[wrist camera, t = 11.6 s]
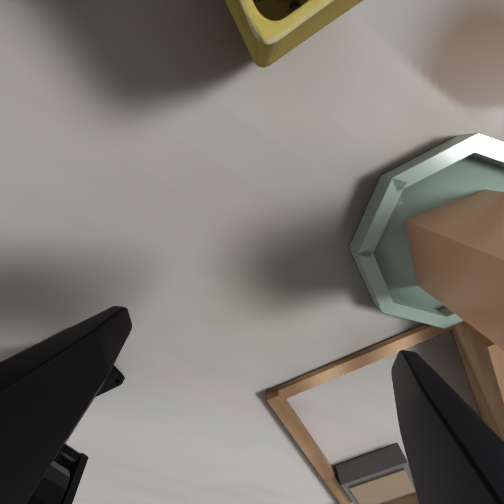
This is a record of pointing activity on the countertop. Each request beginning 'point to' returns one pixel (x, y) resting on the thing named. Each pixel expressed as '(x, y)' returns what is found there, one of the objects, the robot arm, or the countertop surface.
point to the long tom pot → (464, 259)
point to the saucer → (414, 203)
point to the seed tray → (376, 476)
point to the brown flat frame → (467, 339)
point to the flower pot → (282, 24)
